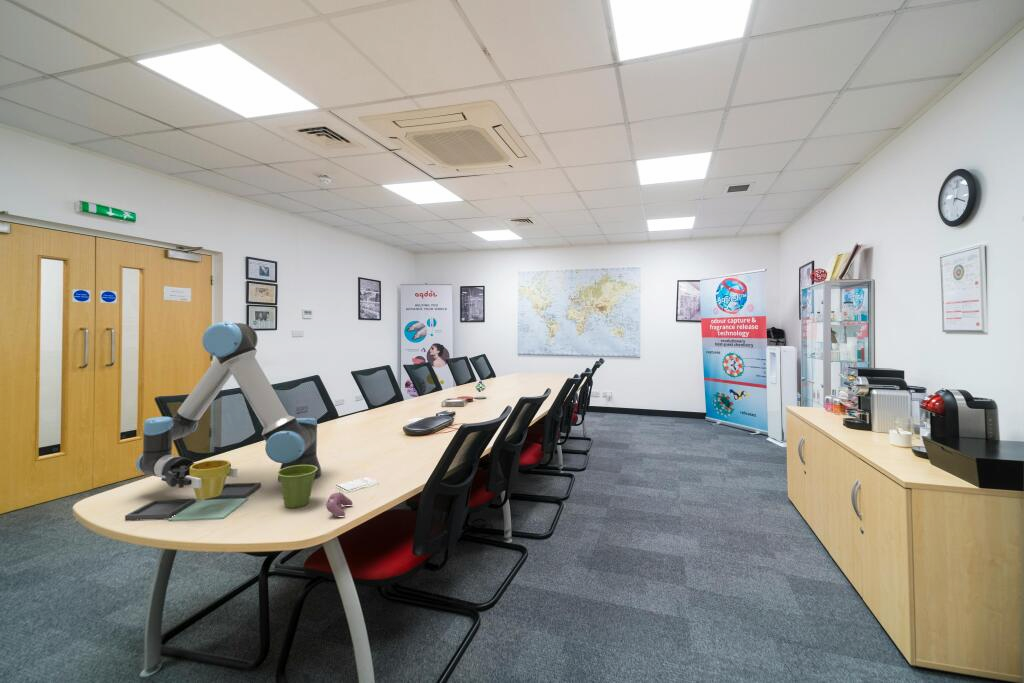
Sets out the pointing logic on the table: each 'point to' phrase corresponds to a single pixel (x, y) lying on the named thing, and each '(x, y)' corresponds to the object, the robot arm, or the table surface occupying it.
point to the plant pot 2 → (297, 484)
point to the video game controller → (337, 503)
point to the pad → (209, 509)
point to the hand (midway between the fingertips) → (218, 478)
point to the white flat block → (356, 483)
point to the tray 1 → (160, 509)
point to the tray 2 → (237, 490)
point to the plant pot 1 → (210, 477)
